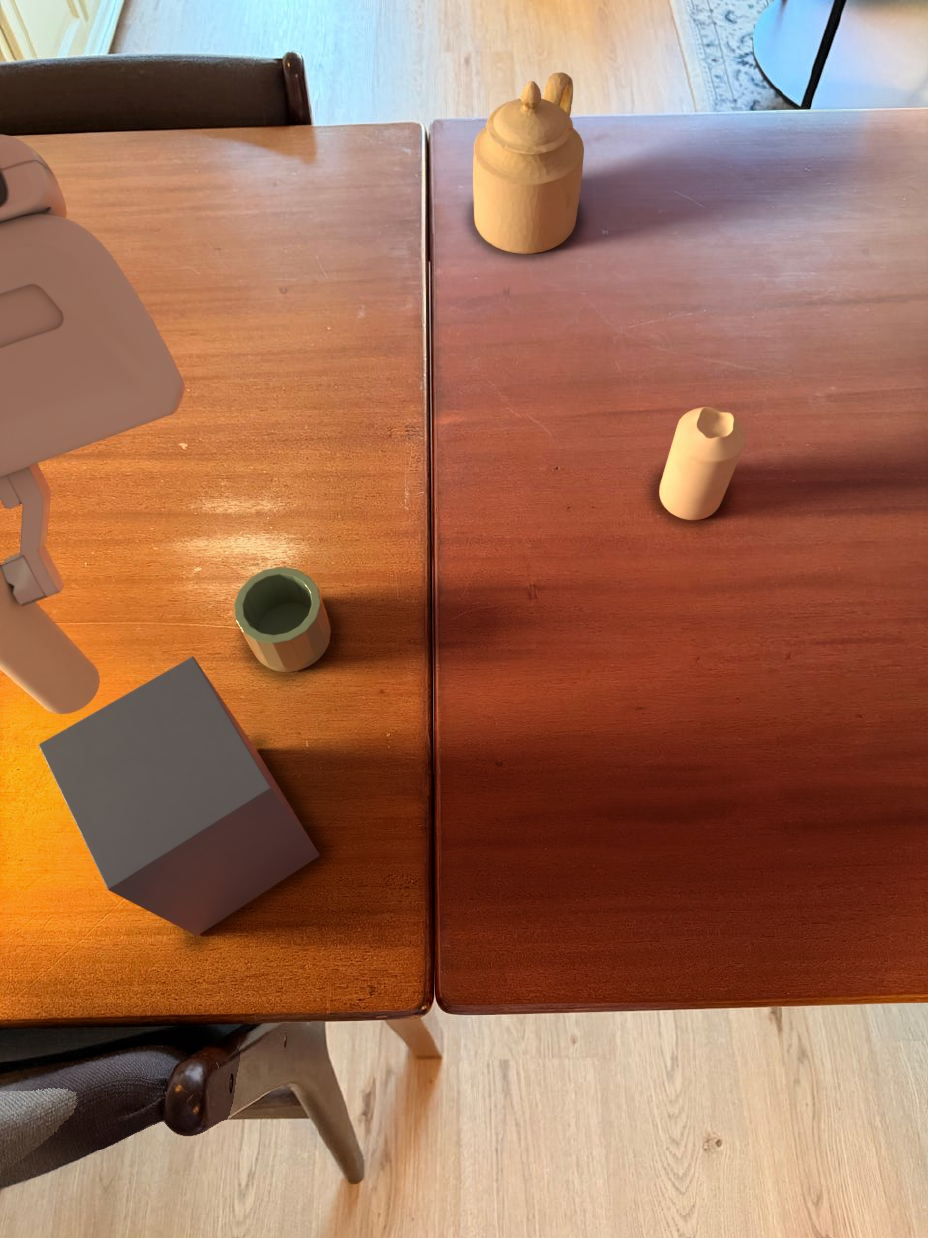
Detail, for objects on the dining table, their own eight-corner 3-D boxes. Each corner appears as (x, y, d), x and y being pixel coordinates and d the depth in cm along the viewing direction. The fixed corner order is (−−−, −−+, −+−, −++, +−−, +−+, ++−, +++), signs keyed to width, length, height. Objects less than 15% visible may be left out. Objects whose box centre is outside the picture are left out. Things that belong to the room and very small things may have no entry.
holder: (274, 687, 72) (259, 658, 67) (236, 626, 75) (219, 594, 70) (345, 644, 74) (335, 613, 69) (305, 586, 76) (293, 553, 72)
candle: (647, 482, 81) (667, 407, 72) (701, 461, 82) (727, 385, 73) (678, 529, 78) (702, 458, 69) (733, 508, 79) (764, 435, 70)
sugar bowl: (468, 164, 101) (466, 24, 88) (566, 159, 101) (579, 18, 88) (476, 258, 94) (476, 121, 81) (582, 252, 94) (599, 114, 81)
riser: (196, 936, 64) (107, 890, 48) (137, 820, 67) (37, 744, 52) (319, 855, 66) (271, 788, 51) (255, 748, 70) (193, 655, 55)
